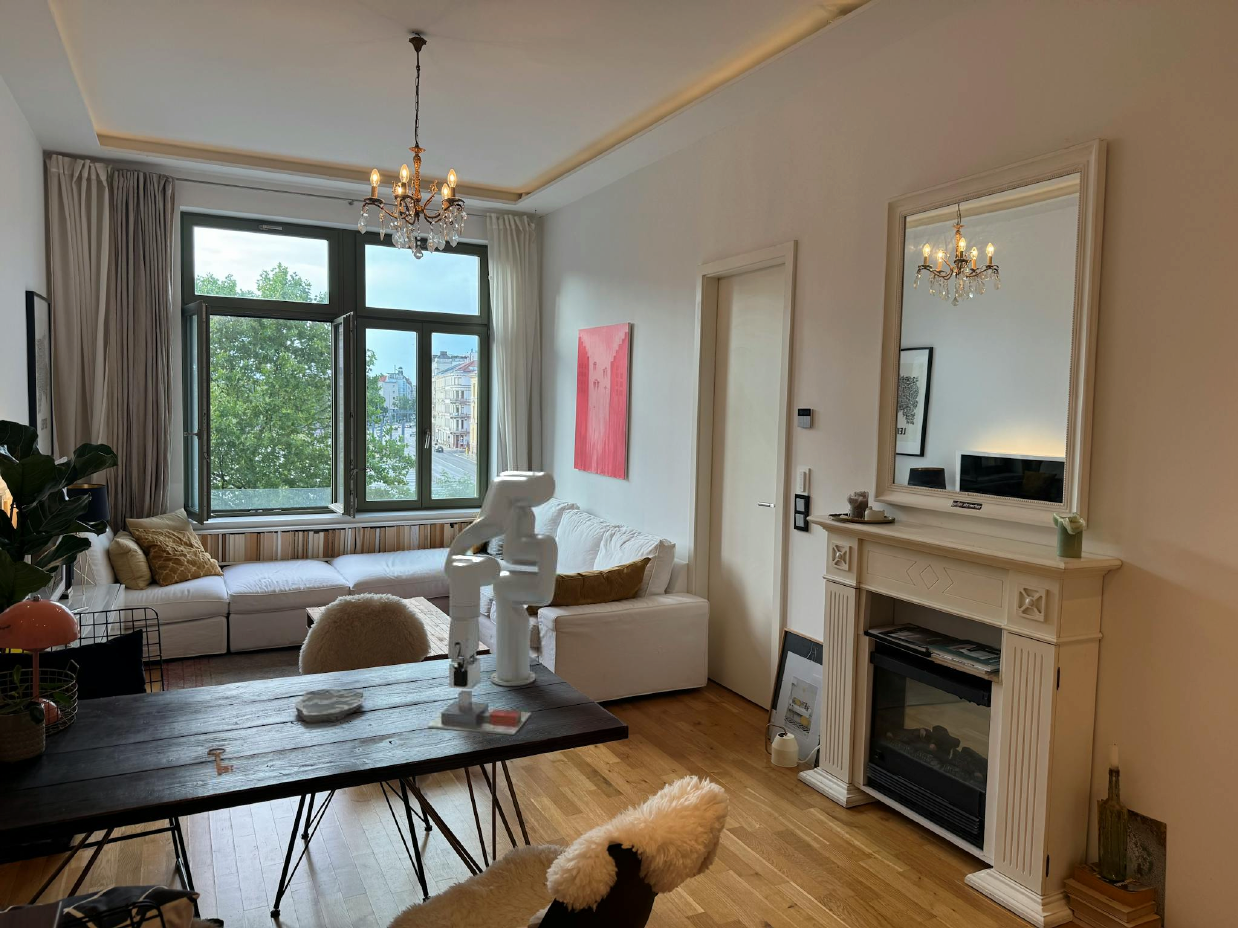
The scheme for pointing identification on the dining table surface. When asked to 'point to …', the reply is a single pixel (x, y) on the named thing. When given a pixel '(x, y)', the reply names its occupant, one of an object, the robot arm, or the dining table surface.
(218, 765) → the key
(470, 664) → the light grey cube
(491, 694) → the dining table surface
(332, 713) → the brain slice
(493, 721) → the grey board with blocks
